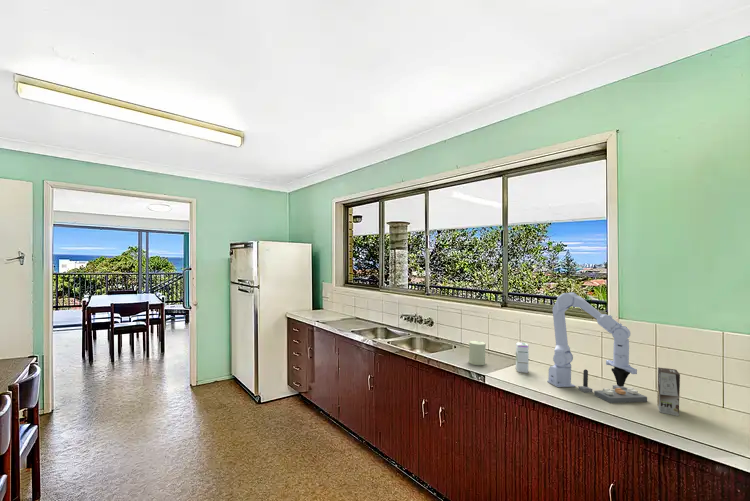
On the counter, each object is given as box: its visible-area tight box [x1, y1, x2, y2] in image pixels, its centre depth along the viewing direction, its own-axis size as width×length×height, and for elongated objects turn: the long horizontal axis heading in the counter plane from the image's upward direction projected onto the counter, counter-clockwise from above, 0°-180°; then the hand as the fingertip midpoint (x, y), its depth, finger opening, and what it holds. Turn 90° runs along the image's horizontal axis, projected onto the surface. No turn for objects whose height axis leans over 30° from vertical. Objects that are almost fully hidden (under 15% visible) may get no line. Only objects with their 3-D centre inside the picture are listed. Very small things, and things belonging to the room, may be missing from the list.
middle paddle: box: [614, 388, 626, 394], centre depth 164 cm, size 2×3×2 cm
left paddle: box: [602, 387, 614, 395], centre depth 163 cm, size 2×3×2 cm
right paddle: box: [626, 387, 639, 394], centre depth 165 cm, size 2×3×2 cm
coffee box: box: [656, 367, 681, 417], centre depth 152 cm, size 9×6×16 cm
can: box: [468, 340, 487, 366], centre depth 214 cm, size 9×9×12 cm
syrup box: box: [515, 342, 530, 373], centre depth 201 cm, size 6×6×14 cm
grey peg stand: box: [577, 369, 593, 393], centre depth 173 cm, size 4×4×10 cm
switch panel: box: [593, 389, 648, 404], centre depth 164 cm, size 18×9×2 cm, turn 100°
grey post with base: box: [612, 384, 628, 390], centre depth 176 cm, size 4×4×10 cm
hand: (620, 385), depth 164 cm, fingers closed
